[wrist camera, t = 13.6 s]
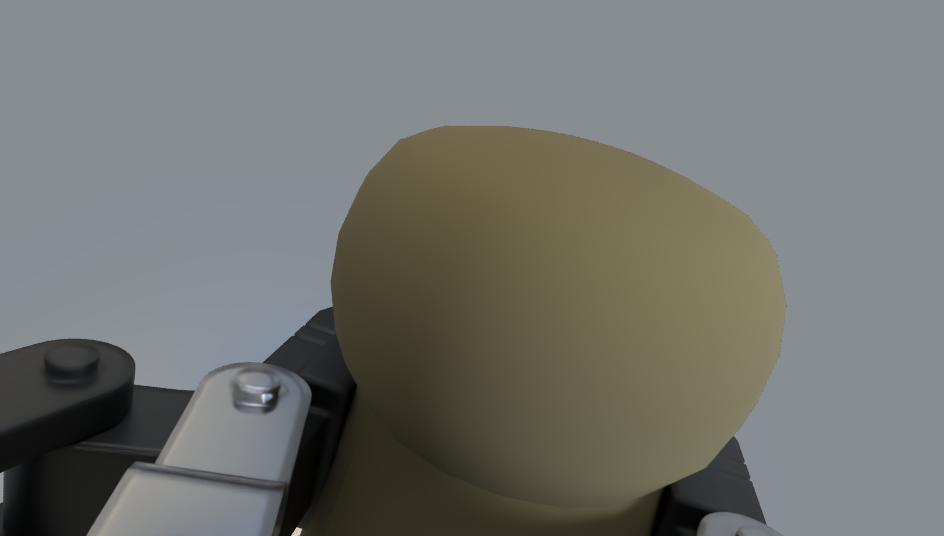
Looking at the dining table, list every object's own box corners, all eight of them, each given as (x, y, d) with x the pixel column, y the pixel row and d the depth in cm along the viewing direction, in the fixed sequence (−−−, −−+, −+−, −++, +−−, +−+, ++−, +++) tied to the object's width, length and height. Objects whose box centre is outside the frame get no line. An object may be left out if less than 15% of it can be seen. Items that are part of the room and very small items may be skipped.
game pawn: (523, 639, 15) (701, 147, 11) (629, 1024, 9) (1044, 304, 6) (234, 630, 13) (329, 60, 10) (156, 1079, 8) (309, 157, 4)
